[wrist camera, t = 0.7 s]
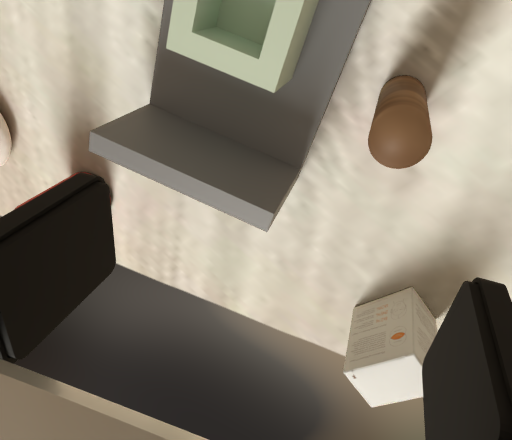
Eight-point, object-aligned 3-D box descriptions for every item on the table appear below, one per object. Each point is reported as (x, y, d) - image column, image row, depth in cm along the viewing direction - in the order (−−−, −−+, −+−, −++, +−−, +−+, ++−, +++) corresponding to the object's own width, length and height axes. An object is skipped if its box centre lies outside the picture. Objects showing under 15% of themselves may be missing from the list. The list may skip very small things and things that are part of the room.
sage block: (221, -85, 33) (188, -98, 28) (334, -44, 32) (320, -49, 27) (196, 40, 38) (165, 48, 34) (291, 78, 37) (274, 93, 33)
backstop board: (188, -125, 33) (106, -167, 24) (392, -52, 31) (385, -66, 22) (151, 118, 46) (88, 150, 37) (296, 181, 44) (267, 232, 35)
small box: (376, 337, 51) (369, 409, 42) (352, 306, 50) (340, 373, 41) (437, 319, 47) (444, 395, 38) (413, 284, 45) (414, 354, 37)
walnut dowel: (391, 68, 35) (385, 100, 26) (434, 85, 35) (444, 124, 25) (371, 110, 38) (358, 154, 28) (411, 126, 37) (412, 177, 27)
